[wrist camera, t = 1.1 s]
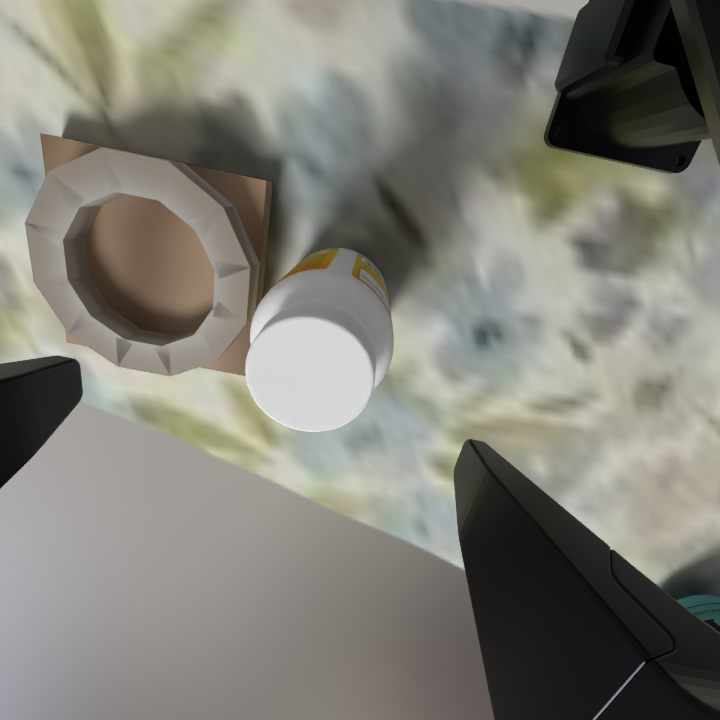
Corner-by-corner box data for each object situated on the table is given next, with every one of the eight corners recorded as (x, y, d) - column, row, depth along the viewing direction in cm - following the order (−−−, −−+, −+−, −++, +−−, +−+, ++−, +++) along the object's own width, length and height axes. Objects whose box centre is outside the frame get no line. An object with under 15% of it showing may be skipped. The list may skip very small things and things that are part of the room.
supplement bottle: (279, 331, 21) (210, 429, 12) (298, 233, 19) (232, 267, 10) (372, 355, 22) (370, 468, 13) (401, 262, 20) (423, 319, 11)
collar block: (273, 181, 18) (257, 179, 16) (256, 367, 22) (241, 389, 20) (61, 137, 18) (10, 127, 15) (82, 334, 22) (44, 352, 19)
